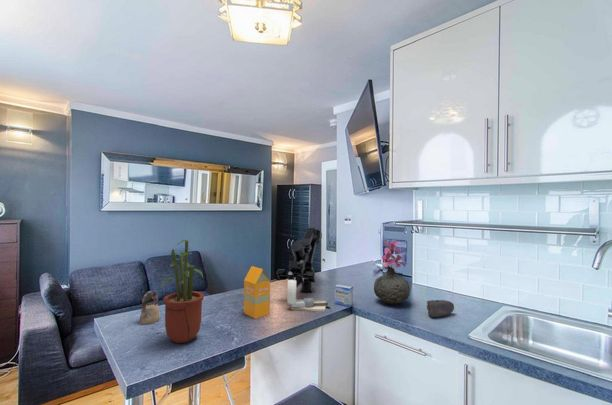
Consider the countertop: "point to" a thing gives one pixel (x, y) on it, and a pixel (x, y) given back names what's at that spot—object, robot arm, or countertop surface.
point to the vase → (391, 279)
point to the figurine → (149, 309)
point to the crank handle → (292, 297)
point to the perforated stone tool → (439, 308)
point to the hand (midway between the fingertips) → (292, 291)
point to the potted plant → (183, 303)
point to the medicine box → (343, 295)
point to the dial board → (315, 308)
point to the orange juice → (256, 293)
